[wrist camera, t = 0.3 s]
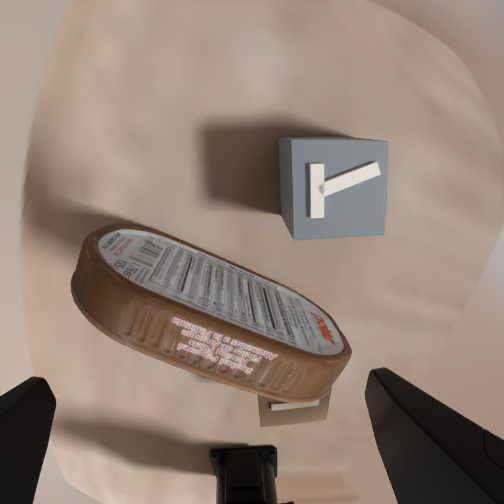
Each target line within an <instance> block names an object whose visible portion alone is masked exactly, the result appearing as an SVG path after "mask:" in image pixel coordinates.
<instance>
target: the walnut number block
mask: <svg viewBox="0 0 504 504" xmlns="http://www.w3.org/2000/svg"><path fill="white" fill-rule="evenodd" d="M330 394H331V389H330V391H329V392H328V394H327V395H326V396H325V397H323V398H321V399H319V400H317V401H314V402H310V403H288V402H283V401H279V400H275V399H271V398H268V397H264V396H261V395H258V403H259V415H260V426H261V427H266V426H277V425H287V424H296V423H305V422H312V421H319V420H326V418H327V413H328V407H329V400H330Z"/></svg>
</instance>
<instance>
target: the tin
mask: <svg viewBox="0 0 504 504" xmlns="http://www.w3.org/2000/svg"><path fill="white" fill-rule="evenodd" d="M71 293H72V296H73V299H74V302H75V303H76V305H77V306H78V308H79V310H80V311H81V312H82V314H83V315H84V316H85V317H86V318H87V320H88V321H89V322H91V323H92V324H93V325H94V326H95V327H96V328H97V329H98V330H100V331H101V332H103V333H104V334H105V335H107V336H109V337H110V338H112V339H114V340H115V341H117V342H119V343H121V344H123V345H125V346H128V347H130V348H132V349H134V350H137V351H139V352H141V353H144V354H146V355H149V356H151V357H153V358H156V359H158V360H161V361H163V362H166V363H168V364H171V365H173V366H176V367H179V368H181V369H184V370H187V371H189V372H192V373H195V374H198V375H201V376H204V377H206V378H209V379H212V380H215V381H217V382H220V383H224V384H227V385H230V386H233V387H236V388H238V389H241V390H245V391H248V392H252V393H255V394H258V395H261V396H264V397H268V398H271V399H275V400H279V401H283V402H288V403H310V402H314V401H317V400H319V399H321V398H323V397H325V396H326V395H327V394H328V392H329V391H330V389H331V387H332V384H333V383H334V382H335V380H336V379H337V378H338V376H339V375H340V374H341V372H342V371H343V369H344V368H345V366H346V365H347V363H348V361H349V359H350V357H351V354H352V350H351V348H350V346H349V343H348V341H347V339H346V338H345V336H344V335H343V333H342V332H341V331H340V329H339V327H338V326H337V324H336V323H335V321H334V320H333V318H332V317H331V316H330V315H329V314H328V313H327V312H325V311H324V310H323V309H322V308H320V307H319V306H318V305H316V304H315V303H314V302H312V301H311V300H309V299H308V298H306V297H304V296H303V295H301V294H299V293H298V292H296V291H294V290H292V289H290V288H288V287H286V286H284V285H282V284H280V283H277V282H275V281H273V280H271V279H268V278H266V277H264V276H262V275H259V274H257V273H255V272H253V271H250V270H248V269H246V268H244V267H241V266H239V265H237V264H235V263H232V262H230V261H228V260H225V259H223V258H221V257H219V256H216V255H214V254H212V253H209V252H207V251H205V250H203V249H200V248H198V247H196V246H193V245H191V244H189V243H187V242H184V241H182V240H180V239H177V238H175V237H172V236H170V235H167V234H164V233H162V232H159V231H156V230H152V229H149V228H145V227H140V226H135V225H126V224H114V225H109V226H106V227H104V228H101V229H98V230H96V231H94V232H92V233H91V234H90V235H88V236H87V237H86V239H85V240H84V242H83V245H82V248H81V252H80V255H79V259H78V263H77V267H76V270H75V272H74V273H73V276H72V279H71Z"/></svg>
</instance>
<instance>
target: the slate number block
mask: <svg viewBox="0 0 504 504" xmlns="http://www.w3.org/2000/svg"><path fill="white" fill-rule="evenodd" d="M278 145H279V170H280V198H281V216H282V218H283V220H284V222H285V224H286V226H287V228H288V230H289V232H290V234H291V236H292V238H293V240H309V239H325V238H342V237H359V236H376V235H384V229H385V215H386V198H387V169H388V141H380V140H372V139H363V138H347V137H287V138H278Z"/></svg>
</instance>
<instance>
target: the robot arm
mask: <svg viewBox="0 0 504 504" xmlns="http://www.w3.org/2000/svg"><path fill="white" fill-rule="evenodd" d="M365 400H366V404H367V408H368V412H369V416H370V419H371V424H372V428H373V432H374V436H375V440H376V443H377V447H378V450H379V453H380V455H381V458H382V461H383V463H384V466H385V469H386V472H387V474H388V477H389V480H390V482H391V485H392V488H393V491H394V493H395V496H396V499H397V502H398V504H504V440H503V439H501V438H500V437H498V436H496V435H494V434H492V433H491V432H489V431H488V430H486V429H484V430H483V428H482V427H481V426H479V425H477V424H476V423H474V422H473V421H471V420H469V419H468V418H466V417H464V416H463V415H461V414H459V413H458V412H456V411H455V410H453V409H451V408H450V407H448V406H446V405H445V404H443V403H442V402H440V401H438V400H437V399H435V398H434V397H432V396H430V395H429V394H427V393H426V392H424V391H422V390H421V389H419V388H418V387H416V386H414V385H413V384H411V383H410V382H408V381H406V380H405V379H403V378H402V377H400V376H399V375H397V374H395V373H394V372H392V371H391V370H389V369H388V368H385V367H382V368H377V369H373V370H371V371H370V373H369V376H368V381H367V385H366V390H365ZM55 409H56V398H55V396H54V394H53V392H52V390H51V388H50V386H49V385H48V383H47V381H46V380H45V379H44V378H42V377H35V376H34V377H31V378H29V379H27V380H26V381H24V382H23V383H21V384H19V385H18V386H16V387H15V388H13V389H11V390H10V391H8V392H7V393H5V394H3V395H2V396H0V504H33V500H34V496H35V492H36V488H37V483H38V480H39V476H40V472H41V468H42V464H43V460H44V457H45V454H46V450H47V447H48V442H49V437H50V432H51V427H52V422H53V417H54V413H55ZM209 456H210V459H211V462H212V465H213V468H214V472H215V475H216V478H217V492H216V504H278V503H277V494H276V486H275V478H276V477H277V448H276V447H261V448H246V449H218V450H210V454H209ZM282 504H294V502H293V501H292V502H288V503H282Z"/></svg>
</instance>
